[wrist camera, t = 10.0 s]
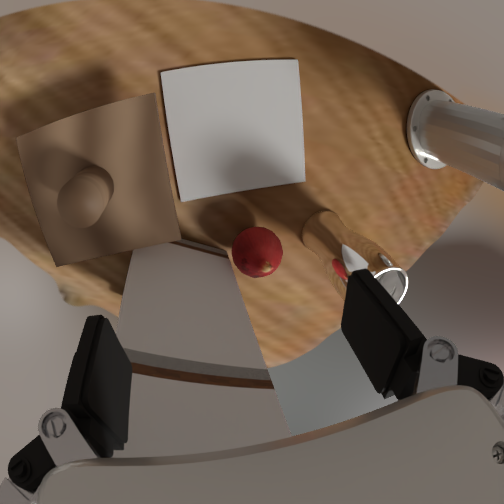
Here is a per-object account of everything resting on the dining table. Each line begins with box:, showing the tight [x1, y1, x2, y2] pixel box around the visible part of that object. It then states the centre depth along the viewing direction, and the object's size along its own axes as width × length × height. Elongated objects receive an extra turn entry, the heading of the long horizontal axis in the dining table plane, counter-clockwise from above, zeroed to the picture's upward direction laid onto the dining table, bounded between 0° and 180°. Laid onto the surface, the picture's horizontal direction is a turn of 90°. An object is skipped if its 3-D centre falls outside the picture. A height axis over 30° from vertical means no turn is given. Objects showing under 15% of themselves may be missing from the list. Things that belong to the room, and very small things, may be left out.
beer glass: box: [302, 211, 408, 304], centre depth 34 cm, size 7×7×15 cm
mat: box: [161, 60, 305, 202], centre depth 31 cm, size 15×15×1 cm
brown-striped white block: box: [113, 239, 292, 458], centre depth 23 cm, size 11×11×35 cm
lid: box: [16, 93, 181, 267], centre depth 22 cm, size 14×14×6 cm
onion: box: [232, 227, 283, 278], centre depth 34 cm, size 6×6×8 cm
